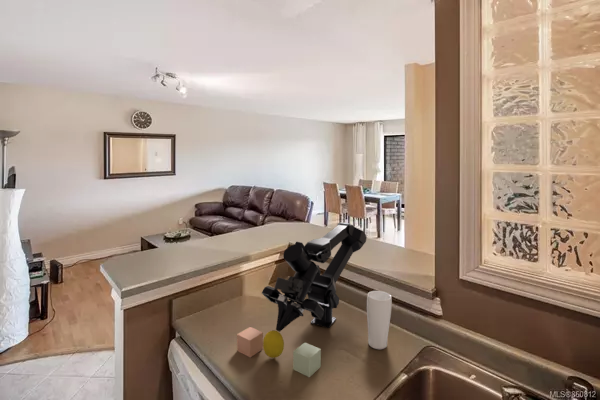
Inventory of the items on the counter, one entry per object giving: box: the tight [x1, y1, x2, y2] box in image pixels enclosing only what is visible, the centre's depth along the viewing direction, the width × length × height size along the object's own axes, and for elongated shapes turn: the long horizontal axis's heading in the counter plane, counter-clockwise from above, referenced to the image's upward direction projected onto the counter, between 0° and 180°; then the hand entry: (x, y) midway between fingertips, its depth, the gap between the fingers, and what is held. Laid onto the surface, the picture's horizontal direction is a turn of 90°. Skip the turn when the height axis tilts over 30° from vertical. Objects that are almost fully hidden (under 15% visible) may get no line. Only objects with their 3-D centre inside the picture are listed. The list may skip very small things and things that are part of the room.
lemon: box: [262, 329, 285, 359], centre depth 85 cm, size 6×6×8 cm
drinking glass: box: [366, 290, 393, 350], centre depth 91 cm, size 7×7×15 cm
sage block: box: [292, 342, 322, 378], centre depth 81 cm, size 5×5×5 cm
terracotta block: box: [236, 326, 264, 358], centre depth 89 cm, size 5×5×5 cm
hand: (277, 330), depth 86 cm, fingers closed, pressing on lemon
